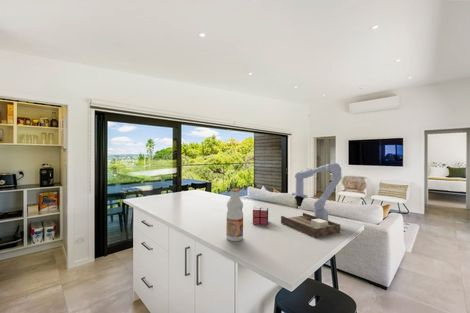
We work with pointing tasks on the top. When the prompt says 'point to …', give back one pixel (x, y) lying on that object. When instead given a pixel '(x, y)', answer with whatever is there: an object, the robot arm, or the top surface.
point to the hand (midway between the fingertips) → (299, 206)
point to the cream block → (319, 223)
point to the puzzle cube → (260, 215)
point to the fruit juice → (234, 217)
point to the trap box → (305, 225)
